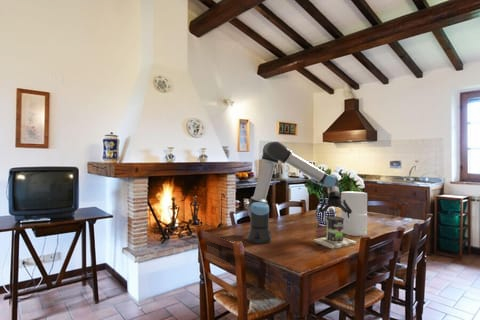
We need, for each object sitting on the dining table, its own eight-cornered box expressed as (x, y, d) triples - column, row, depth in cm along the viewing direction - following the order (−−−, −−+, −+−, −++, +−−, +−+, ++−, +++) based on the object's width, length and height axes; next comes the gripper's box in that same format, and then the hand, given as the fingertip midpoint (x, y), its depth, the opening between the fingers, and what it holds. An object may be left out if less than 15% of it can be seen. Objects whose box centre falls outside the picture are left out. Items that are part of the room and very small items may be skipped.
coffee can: (346, 242, 178) (347, 219, 178) (332, 243, 176) (332, 220, 175) (337, 237, 188) (337, 215, 188) (322, 238, 186) (323, 216, 185)
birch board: (332, 248, 170) (332, 246, 170) (313, 241, 184) (313, 239, 184) (356, 244, 180) (356, 241, 180) (336, 237, 194) (336, 235, 194)
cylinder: (339, 228, 218) (340, 191, 217) (364, 230, 213) (365, 191, 213) (341, 234, 201) (342, 194, 201) (368, 236, 197) (369, 195, 196)
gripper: (352, 198, 199) (356, 225, 184) (314, 197, 204) (315, 223, 190) (354, 191, 193) (357, 219, 179) (315, 190, 199) (315, 217, 184)
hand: (335, 221), depth 184 cm, fingers open, 13 cm apart
